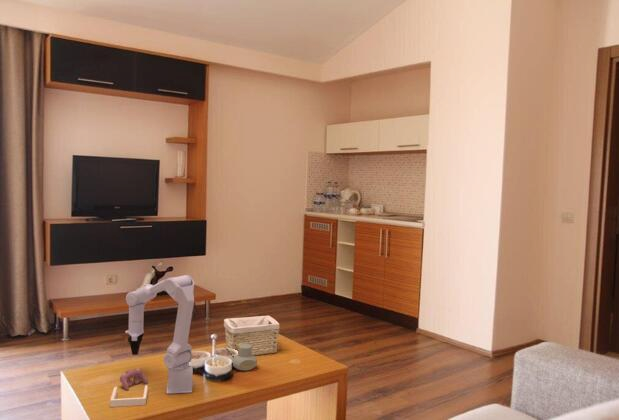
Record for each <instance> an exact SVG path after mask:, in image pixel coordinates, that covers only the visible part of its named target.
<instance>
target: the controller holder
mask: <svg viewBox="0 0 619 420" xmlns="http://www.w3.org/2000/svg"><path fill="white" fill-rule="evenodd" d="M148 392H149V385H148V384H144V390H143V395H142V397H129V398H117V395H118V386H114V387H113V391H112V393H111V396H110V401H109V407H110V408H118V407H133V406H135V407H136V406H146V404H147V400H148V399H147V397H148Z"/></svg>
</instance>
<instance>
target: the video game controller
mask: <svg viewBox="0 0 619 420" xmlns="http://www.w3.org/2000/svg"><path fill="white" fill-rule="evenodd" d="M119 380H120V382H121V385H122V387H123V389H124V390H126V391H128V390H129V388H130V387H131V386H132V385H133V384H135V385H138V384H139V383H140V380H141V382H143V383H144V385H148V378H147V376H146V374H145V373H144V371H143V370H141V368H140V369H139V368H137V369H135V368H134V369H130V370H128V371H126V372H124V373H122V374H121V375H119Z"/></svg>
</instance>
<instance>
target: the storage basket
mask: <svg viewBox="0 0 619 420" xmlns="http://www.w3.org/2000/svg"><path fill="white" fill-rule="evenodd" d="M223 327H224V331H225V332H224V334H225V348H226V347H228V348H231V349H235V350H237V351H238V346H239V345H241V344H250V345H251V346H252V355H254V356H258V355H259V356H260V355H268V354H274V353H277V352H278V341H279V333H280V328H281V327H280V323H279V322H278V321H277V319H275V318H274V317H272V316H270V315H261V316H259V315H257V316H249V317H232V318H228V317H227V318H225V319H223Z"/></svg>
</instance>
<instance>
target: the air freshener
mask: <svg viewBox="0 0 619 420" xmlns="http://www.w3.org/2000/svg"><path fill="white" fill-rule="evenodd" d="M232 361H233V365H232V366H233V367H234V369H236V370H238V371H243V372H247V371H250V370H253V369H254V368H255V367H256V366H257V365H258V359H257V357H256V355H252V346H251V345H250V344H241V345H239V346H238V355H236V356H235V357H232V359H231V362H232Z"/></svg>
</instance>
